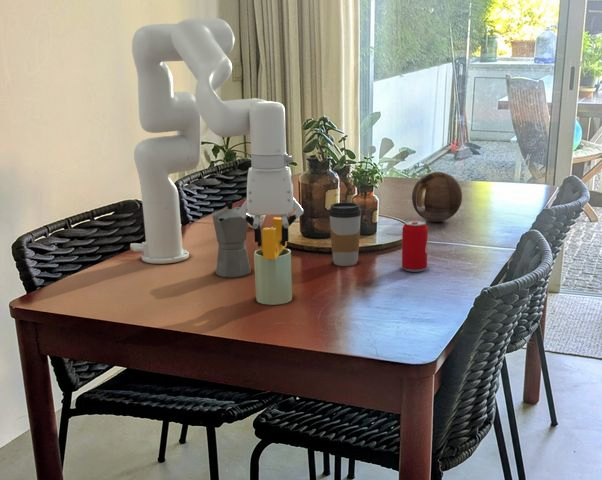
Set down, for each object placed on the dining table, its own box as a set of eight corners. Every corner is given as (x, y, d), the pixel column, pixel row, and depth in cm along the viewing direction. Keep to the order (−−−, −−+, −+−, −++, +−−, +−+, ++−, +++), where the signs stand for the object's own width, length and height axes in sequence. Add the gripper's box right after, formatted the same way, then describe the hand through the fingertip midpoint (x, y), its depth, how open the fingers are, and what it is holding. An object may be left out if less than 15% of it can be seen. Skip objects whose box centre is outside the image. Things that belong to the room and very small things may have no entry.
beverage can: (429, 266, 217) (430, 219, 213) (424, 273, 212) (425, 225, 208) (404, 265, 219) (405, 218, 215) (399, 271, 214) (399, 224, 210)
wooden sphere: (446, 214, 273) (448, 166, 267) (470, 224, 259) (472, 173, 254) (403, 218, 268) (404, 170, 263) (424, 228, 255) (426, 177, 250)
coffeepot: (241, 281, 210) (237, 207, 203) (205, 278, 212) (200, 206, 206) (263, 264, 223) (260, 195, 217) (229, 262, 226) (225, 193, 220)
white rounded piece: (242, 228, 261) (241, 205, 258) (251, 224, 266) (249, 201, 264) (261, 229, 259) (260, 206, 256) (269, 225, 264) (268, 202, 261)
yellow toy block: (268, 244, 198) (267, 217, 196) (286, 245, 197) (285, 217, 195) (255, 258, 187) (254, 229, 185) (274, 259, 186) (273, 230, 184)
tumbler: (254, 305, 192) (252, 257, 188) (257, 293, 200) (255, 247, 196) (291, 304, 192) (290, 256, 188) (292, 293, 200) (291, 247, 196)
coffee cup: (327, 259, 226) (326, 202, 221) (359, 258, 227) (359, 201, 221) (331, 268, 219) (330, 209, 213) (363, 266, 219) (363, 208, 214)
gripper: (308, 158, 188) (310, 240, 195) (231, 159, 189) (235, 241, 195) (308, 164, 181) (309, 248, 188) (227, 165, 182) (232, 249, 188)
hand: (271, 244), depth 192 cm, fingers closed on yellow toy block, 4 cm apart
